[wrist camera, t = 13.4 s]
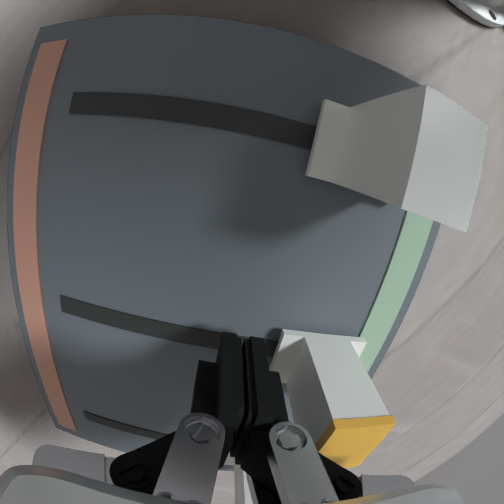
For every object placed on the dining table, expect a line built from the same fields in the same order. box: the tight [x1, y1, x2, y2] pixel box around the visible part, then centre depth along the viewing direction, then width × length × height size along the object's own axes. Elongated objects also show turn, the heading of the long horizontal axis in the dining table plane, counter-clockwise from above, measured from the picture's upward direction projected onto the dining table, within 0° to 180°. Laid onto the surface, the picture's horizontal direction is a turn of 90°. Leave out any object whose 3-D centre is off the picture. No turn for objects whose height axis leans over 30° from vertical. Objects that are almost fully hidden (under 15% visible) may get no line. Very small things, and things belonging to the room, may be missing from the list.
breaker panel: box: [7, 14, 440, 471], centre depth 13 cm, size 20×26×3 cm
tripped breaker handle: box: [269, 329, 396, 468], centre depth 10 cm, size 4×3×5 cm
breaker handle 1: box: [224, 452, 253, 504], centre depth 13 cm, size 4×3×5 cm
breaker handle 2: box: [305, 84, 488, 233], centre depth 7 cm, size 4×3×5 cm
